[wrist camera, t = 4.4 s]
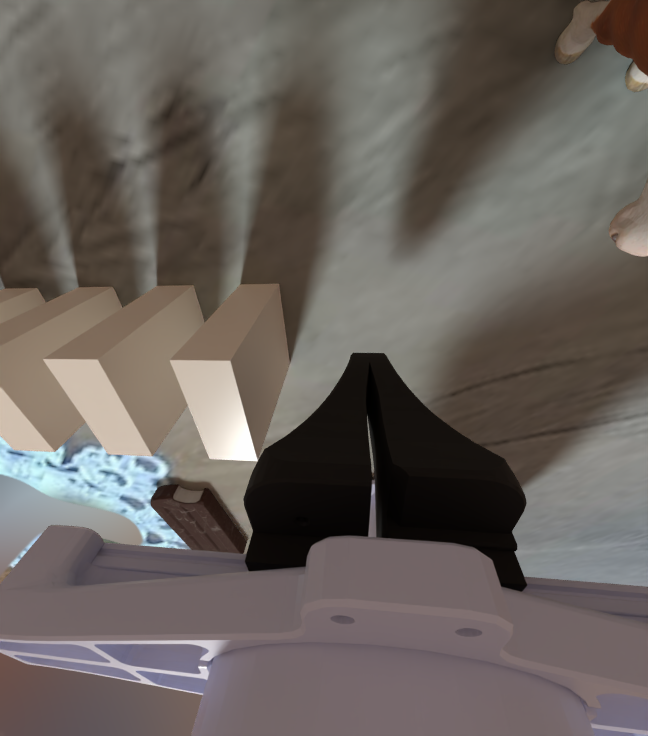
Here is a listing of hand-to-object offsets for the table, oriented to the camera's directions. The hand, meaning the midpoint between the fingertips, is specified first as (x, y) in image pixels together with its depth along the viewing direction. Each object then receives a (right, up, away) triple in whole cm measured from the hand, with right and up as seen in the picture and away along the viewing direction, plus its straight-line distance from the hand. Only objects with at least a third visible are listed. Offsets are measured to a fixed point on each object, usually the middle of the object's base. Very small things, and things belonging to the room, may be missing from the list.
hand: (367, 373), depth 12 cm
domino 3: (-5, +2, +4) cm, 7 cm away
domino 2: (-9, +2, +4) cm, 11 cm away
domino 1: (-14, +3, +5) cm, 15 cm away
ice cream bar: (-13, -16, +18) cm, 27 cm away
